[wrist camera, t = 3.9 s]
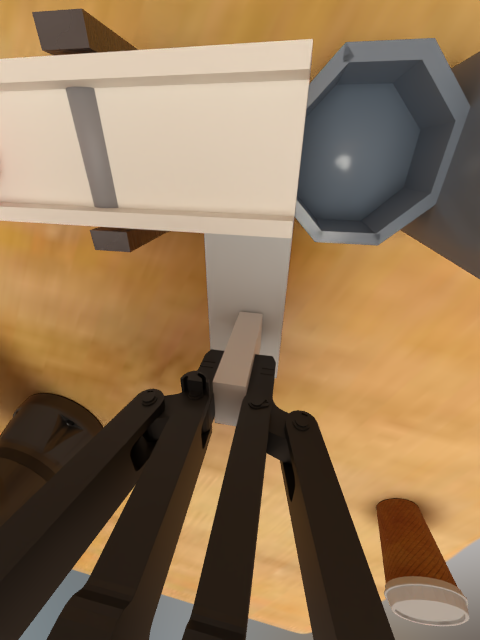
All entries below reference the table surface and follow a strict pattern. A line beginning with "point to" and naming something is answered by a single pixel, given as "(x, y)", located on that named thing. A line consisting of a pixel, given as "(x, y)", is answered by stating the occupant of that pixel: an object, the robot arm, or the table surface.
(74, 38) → the trough stand
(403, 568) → the disposable coffee cup
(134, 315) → the table surface
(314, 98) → the cup
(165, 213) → the lever
